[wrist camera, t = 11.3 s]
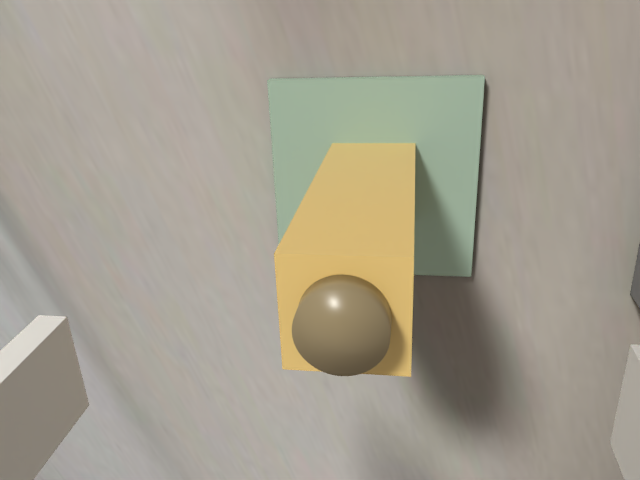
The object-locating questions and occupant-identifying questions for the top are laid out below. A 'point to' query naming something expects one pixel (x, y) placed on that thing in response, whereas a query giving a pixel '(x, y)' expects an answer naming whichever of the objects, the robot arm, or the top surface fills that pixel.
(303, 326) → the plug
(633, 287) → the grey block with hole
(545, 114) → the top surface
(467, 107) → the mat
